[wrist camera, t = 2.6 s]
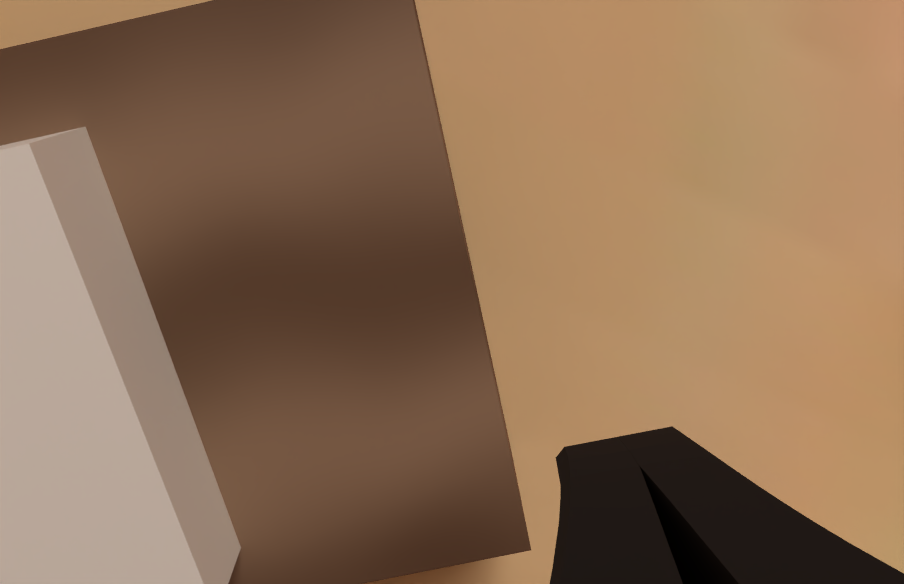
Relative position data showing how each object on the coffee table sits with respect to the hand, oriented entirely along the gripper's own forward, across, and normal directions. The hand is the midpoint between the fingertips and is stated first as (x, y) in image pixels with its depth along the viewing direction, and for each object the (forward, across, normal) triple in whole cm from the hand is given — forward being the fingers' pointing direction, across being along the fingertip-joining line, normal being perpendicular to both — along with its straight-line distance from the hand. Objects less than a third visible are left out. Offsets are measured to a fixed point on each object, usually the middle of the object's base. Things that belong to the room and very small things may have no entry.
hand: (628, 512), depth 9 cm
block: (+6, +10, 0) cm, 12 cm away
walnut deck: (+10, +10, 0) cm, 15 cm away
